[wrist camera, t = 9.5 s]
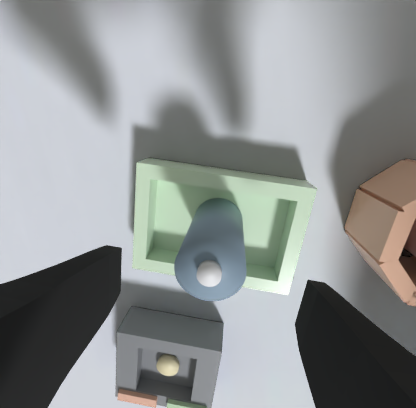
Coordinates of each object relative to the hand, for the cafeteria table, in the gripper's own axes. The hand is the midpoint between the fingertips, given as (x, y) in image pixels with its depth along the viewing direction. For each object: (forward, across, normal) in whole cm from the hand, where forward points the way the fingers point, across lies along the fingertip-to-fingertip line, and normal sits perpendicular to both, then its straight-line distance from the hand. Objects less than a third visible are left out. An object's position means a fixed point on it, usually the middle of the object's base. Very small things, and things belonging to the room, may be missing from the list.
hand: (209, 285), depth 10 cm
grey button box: (+7, +2, +11) cm, 13 cm away
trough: (+7, 0, 0) cm, 7 cm away
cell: (+6, 0, 0) cm, 6 cm away
